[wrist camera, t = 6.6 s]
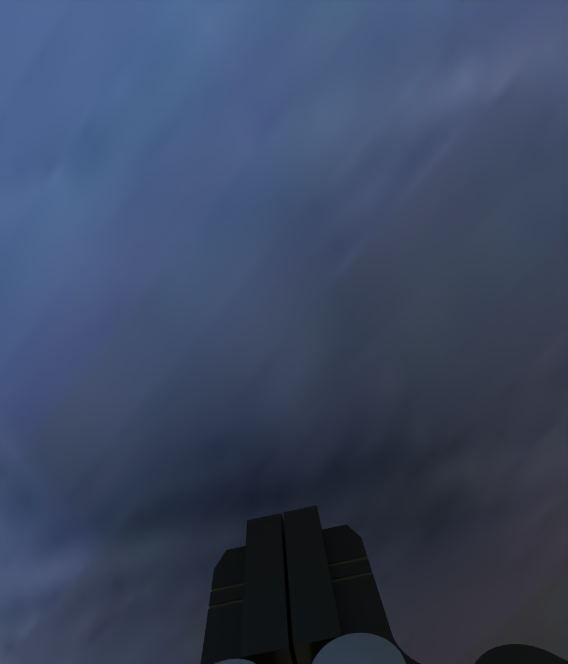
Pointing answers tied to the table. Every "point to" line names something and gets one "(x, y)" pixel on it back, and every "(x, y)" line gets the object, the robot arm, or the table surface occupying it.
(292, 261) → the table surface
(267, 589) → the robot arm
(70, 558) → the table surface
